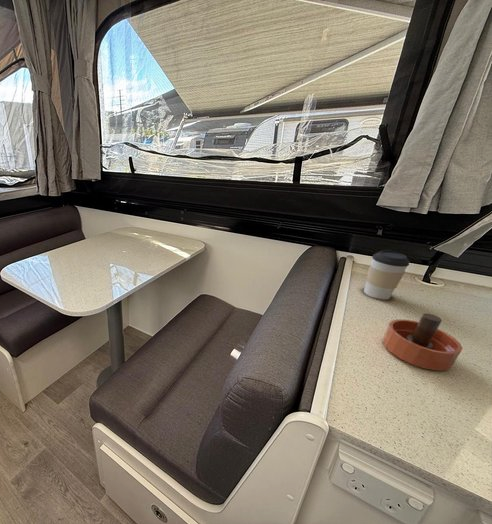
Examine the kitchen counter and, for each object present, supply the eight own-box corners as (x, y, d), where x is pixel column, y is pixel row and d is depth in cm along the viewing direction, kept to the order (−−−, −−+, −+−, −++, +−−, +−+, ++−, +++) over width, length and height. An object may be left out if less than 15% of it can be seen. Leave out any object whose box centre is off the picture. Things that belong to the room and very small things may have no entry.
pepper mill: (421, 346, 67) (439, 313, 63) (432, 359, 63) (451, 325, 59) (398, 342, 68) (414, 309, 64) (407, 355, 64) (425, 320, 60)
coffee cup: (399, 303, 86) (418, 260, 80) (365, 298, 89) (381, 257, 83) (386, 289, 94) (403, 249, 88) (356, 285, 96) (370, 247, 90)
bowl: (431, 342, 69) (441, 325, 67) (464, 378, 59) (477, 359, 56) (373, 332, 73) (380, 315, 71) (394, 364, 63) (403, 346, 60)
